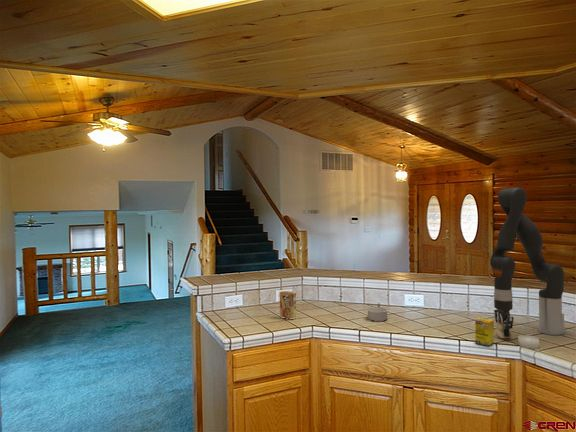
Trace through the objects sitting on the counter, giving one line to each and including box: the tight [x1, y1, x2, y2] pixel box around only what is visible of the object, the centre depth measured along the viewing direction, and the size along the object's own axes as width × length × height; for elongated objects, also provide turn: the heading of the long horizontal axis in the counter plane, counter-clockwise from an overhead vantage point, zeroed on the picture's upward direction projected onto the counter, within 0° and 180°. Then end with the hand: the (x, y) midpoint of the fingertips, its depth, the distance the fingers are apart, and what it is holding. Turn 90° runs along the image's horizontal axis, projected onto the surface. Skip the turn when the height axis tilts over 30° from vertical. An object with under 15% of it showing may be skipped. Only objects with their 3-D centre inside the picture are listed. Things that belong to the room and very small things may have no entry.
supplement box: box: [474, 317, 495, 348], centre depth 174 cm, size 6×6×11 cm
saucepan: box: [366, 302, 389, 322], centre depth 219 cm, size 12×20×6 cm, turn 163°
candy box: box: [279, 290, 298, 318], centre depth 220 cm, size 9×4×15 cm, turn 67°
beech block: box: [495, 321, 512, 339], centre depth 181 cm, size 4×4×6 cm
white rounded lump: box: [517, 334, 540, 350], centre depth 171 cm, size 8×8×4 cm
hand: (503, 334), depth 181 cm, fingers closed on beech block, 4 cm apart
